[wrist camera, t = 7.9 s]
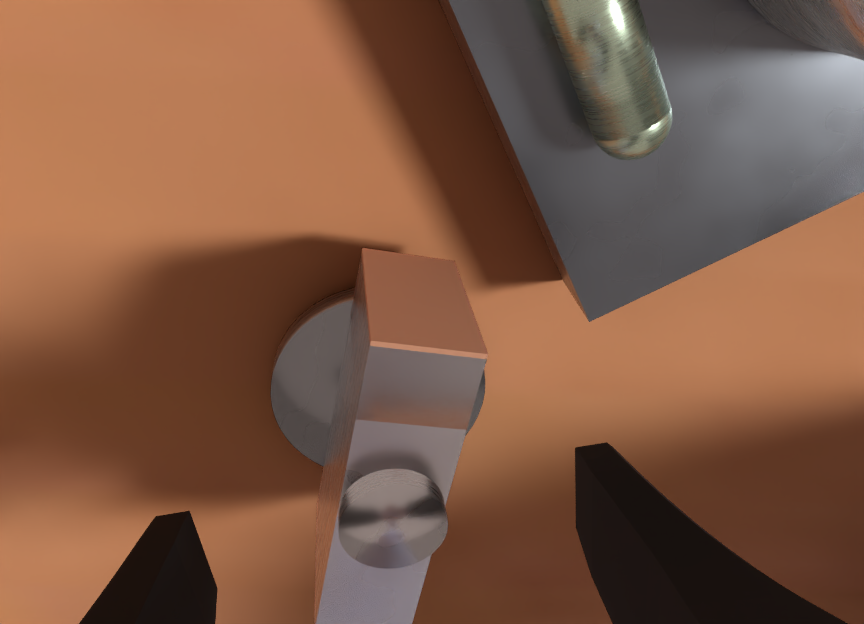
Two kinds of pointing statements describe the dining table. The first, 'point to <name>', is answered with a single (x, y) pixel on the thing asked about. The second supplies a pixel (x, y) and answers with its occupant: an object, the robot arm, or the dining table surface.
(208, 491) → the dining table surface
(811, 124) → the levelling base
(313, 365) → the wing knob
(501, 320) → the dining table surface
